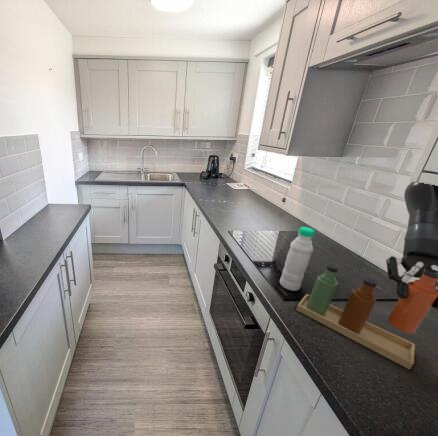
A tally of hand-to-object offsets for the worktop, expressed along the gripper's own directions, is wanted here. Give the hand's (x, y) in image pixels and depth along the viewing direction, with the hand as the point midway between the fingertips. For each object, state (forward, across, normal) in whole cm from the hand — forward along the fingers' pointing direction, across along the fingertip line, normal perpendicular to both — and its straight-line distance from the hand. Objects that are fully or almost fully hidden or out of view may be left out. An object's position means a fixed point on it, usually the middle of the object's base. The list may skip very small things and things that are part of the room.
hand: (419, 302), depth 58 cm
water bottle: (+1, -26, +25) cm, 36 cm away
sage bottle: (+8, -17, +17) cm, 26 cm away
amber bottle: (+9, -9, +15) cm, 20 cm away
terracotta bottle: (+5, 0, +8) cm, 9 cm away
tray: (+10, -9, +16) cm, 20 cm away
